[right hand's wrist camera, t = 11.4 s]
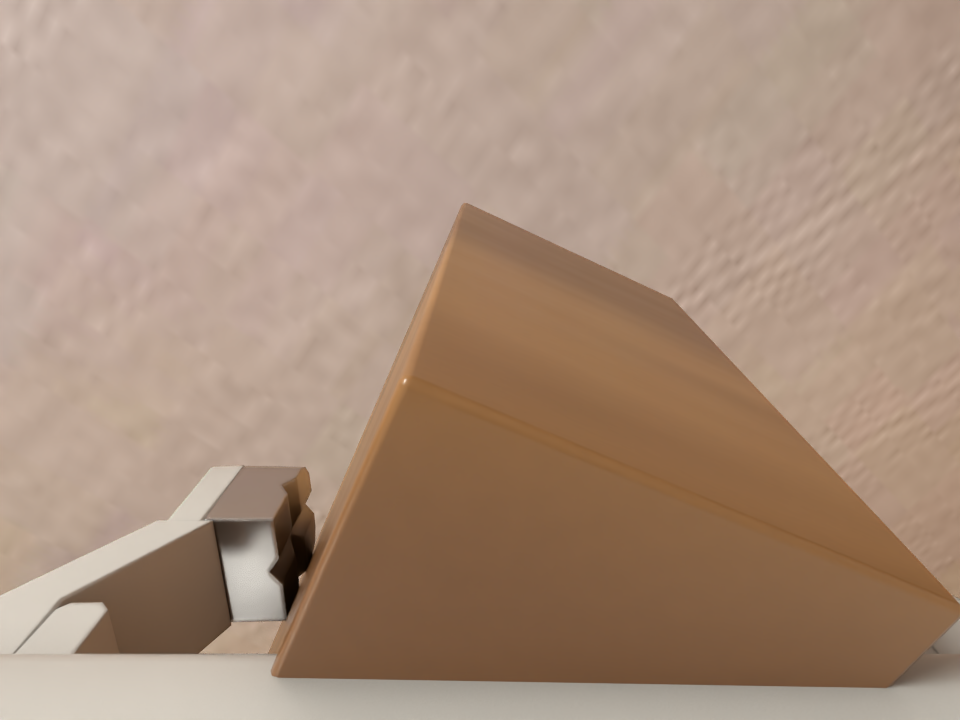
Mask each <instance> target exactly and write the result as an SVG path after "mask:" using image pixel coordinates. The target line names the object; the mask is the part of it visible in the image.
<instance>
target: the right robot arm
mask: <svg viewBox="0 0 960 720" xmlns="http://www.w3.org/2000/svg"><path fill="white" fill-rule="evenodd" d="M310 493H311V484H310V477H309V472H308V471H307V469H306V468H305V467H273V466H244V465H240V466H215V467H211V468H210V469H209V471H208V472H207V473H206V474H205V476H204V477H203V478H202V479H201V480H200V482H199V483H198V484H197V485H196V486H195V488H194V489H193V490H192V491H191V492H190V494H189V495H188V496H187V497H186V499H185V500H184V501H183V502H182V503H181V505H180V506H179V507H178V508H177V509H176V511H175V512H174V513H173V514H172V515H171V517H170V518H169V519H168V520H157V521H155V522H153V523H151V524H149V525H147V526H145V527H143V528H141V529H139V530H136V531H134V532H132V533H130V534H128V535H126V536H124V537H122V538H120V539H118V540H115V541H113V542H111V543H109V544H107V545H105V546H103V547H101V548H99V549H97V550H95V551H92V552H90V553H88V554H86V555H84V556H82V557H80V558H78V559H76V560H74V561H71V562H69V563H67V564H65V565H63V566H61V567H59V568H57V569H55V570H53V571H50V572H48V573H46V574H44V575H42V576H40V577H38V578H36V579H34V580H32V581H30V582H27V583H25V584H23V585H21V586H19V587H17V588H15V589H13V590H11V591H9V592H6V593H4V594H2V595H0V720H960V619H959V620H958V621H957V622H956V623H955V624H954V625H953V626H952V627H951V628H950V629H949V630H948V631H947V632H946V633H945V634H944V635H943V636H942V637H941V638H940V639H939V640H938V641H937V642H936V643H935V644H934V645H933V646H932V647H931V648H930V649H929V650H928V651H927V652H925V653H924V654H923V655H922V656H921V657H920V658H919V659H918V660H917V661H916V662H915V663H914V664H913V665H912V666H911V667H910V668H909V669H908V670H907V671H906V672H905V673H904V674H903V675H902V676H901V677H900V678H899V679H898V680H897V681H896V682H895V683H894V684H893V685H892V686H890V687H887V688H850V687H791V686H732V685H672V684H613V683H554V682H494V681H435V680H376V679H317V678H277V677H274V676H272V675H271V668H272V666H273V663H274V661H275V658H276V655H277V654H198V653H199V652H201V651H202V650H203V649H204V648H205V647H206V646H208V645H209V644H210V643H211V642H212V641H213V640H215V639H216V638H217V637H218V636H219V635H220V634H221V633H223V632H224V631H225V630H226V629H227V628H228V627H230V626H231V622H254V621H286V618H287V616H288V614H289V611H290V609H291V606H292V604H293V602H294V599H295V597H296V594H297V592H298V589H299V578H298V577H299V576H300V575H301V574H303V573H304V572H306V570H307V567H308V565H309V563H310V560H311V558H312V555H313V550H314V544H315V518H314V513H313V512H312V511H311V510H310V508H309V507H308V506H307V505H306V504H305V503H306V501H307V499H308V497H309V495H310ZM953 597H954V598H955V599H956V600H957V602H958V603H959V604H960V599H959V598H957V597H955V596H953Z"/></svg>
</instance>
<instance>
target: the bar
mask: <svg viewBox="0 0 960 720" xmlns="http://www.w3.org/2000/svg"><path fill="white" fill-rule="evenodd" d="M959 619H960V604H959V603H958V602H957V600H956V599H955V598H954V597H953V596H952V595H951V594H950V593H949V592H948V591H947V590H946V589H945V588H944V587H943V586H942V585H941V583H940V582H939V581H938V580H937V579H936V578H935V577H934V576H933V575H932V574H931V573H930V572H929V571H928V570H927V569H926V568H925V566H924V565H923V564H922V563H921V562H920V561H919V560H918V559H917V558H916V557H915V556H914V555H913V554H912V553H911V552H910V551H909V549H908V548H907V547H906V546H905V545H904V544H903V543H902V542H901V541H900V540H899V539H898V538H897V537H896V536H895V535H894V534H893V533H892V531H891V530H890V529H889V528H888V527H887V526H886V525H885V524H884V523H883V522H882V521H881V520H880V519H879V518H878V517H877V516H876V514H875V513H874V512H873V511H872V510H871V509H870V508H869V507H868V506H867V505H866V504H865V503H864V502H863V501H862V500H861V499H860V497H859V496H858V495H857V494H856V493H855V492H854V491H853V490H852V489H851V488H850V487H849V486H848V485H847V484H846V483H845V482H844V480H843V479H842V478H841V477H840V476H839V475H838V474H837V473H836V472H835V471H834V470H833V469H832V468H831V467H830V466H829V465H828V463H827V462H826V461H825V460H824V459H823V458H822V457H821V456H820V455H819V454H818V453H817V452H816V451H815V450H814V449H813V448H812V447H811V445H810V444H809V443H808V442H807V441H806V440H805V439H804V438H803V437H802V436H801V435H800V434H799V433H798V432H797V431H796V430H795V428H794V427H793V426H792V425H791V424H790V423H789V422H788V421H787V420H786V419H785V418H784V417H783V416H782V415H781V414H780V413H779V411H778V410H777V409H776V408H775V407H774V406H773V405H772V404H771V403H770V402H769V401H768V400H767V399H766V398H765V397H764V396H763V394H762V393H761V392H760V391H759V390H758V389H757V388H756V387H755V386H754V385H753V384H752V383H751V382H750V381H749V380H748V379H747V377H746V376H745V375H744V374H743V373H742V372H741V371H740V370H739V369H738V368H737V367H736V366H735V365H734V364H733V363H732V362H731V361H730V359H729V358H728V357H727V356H726V355H725V354H724V353H723V352H722V351H721V350H720V349H719V348H718V347H717V346H716V345H715V344H714V342H713V341H712V340H711V339H710V338H709V337H708V336H707V335H706V334H705V333H704V332H703V331H702V330H701V329H700V328H699V327H698V325H697V324H696V323H695V322H694V321H693V320H692V319H691V318H690V317H689V316H688V315H687V314H686V313H685V312H684V311H683V310H682V308H681V307H680V306H679V305H678V304H677V303H676V302H675V301H674V300H673V299H672V298H670V297H668V296H665V295H663V294H661V293H659V292H657V291H655V290H652V289H650V288H648V287H646V286H644V285H642V284H640V283H637V282H635V281H633V280H631V279H629V278H627V277H625V276H622V275H620V274H618V273H616V272H614V271H612V270H610V269H607V268H605V267H603V266H601V265H599V264H597V263H594V262H592V261H590V260H588V259H586V258H584V257H582V256H579V255H577V254H575V253H573V252H571V251H569V250H567V249H564V248H562V247H560V246H558V245H556V244H554V243H551V242H549V241H547V240H545V239H543V238H541V237H539V236H536V235H534V234H532V233H530V232H528V231H526V230H524V229H521V228H519V227H517V226H515V225H513V224H511V223H508V222H506V221H504V220H502V219H500V218H498V217H496V216H493V215H491V214H489V213H487V212H485V211H483V210H481V209H478V208H476V207H474V206H472V205H470V204H468V203H464V204H463V205H462V206H461V208H460V210H459V213H458V215H457V217H456V220H455V222H454V224H453V227H452V229H451V231H450V233H449V236H448V238H447V240H446V243H445V245H444V247H443V250H442V252H441V254H440V257H439V259H438V261H437V264H436V266H435V268H434V271H433V273H432V275H431V277H430V280H429V282H428V284H427V287H426V289H425V291H424V294H423V296H422V298H421V301H420V303H419V305H418V308H417V310H416V312H415V315H414V317H413V319H412V322H411V324H410V326H409V328H408V331H407V333H406V335H405V338H404V340H403V342H402V345H401V347H400V349H399V352H398V354H397V356H396V359H395V361H394V363H393V366H392V368H391V370H390V372H389V375H388V377H387V379H386V382H385V384H384V386H383V389H382V391H381V393H380V396H379V398H378V400H377V403H376V405H375V407H374V410H373V412H372V414H371V416H370V419H369V421H368V423H367V426H366V428H365V430H364V433H363V435H362V437H361V440H360V442H359V444H358V447H357V449H356V451H355V454H354V456H353V458H352V461H351V463H350V465H349V467H348V470H347V472H346V474H345V477H344V479H343V481H342V484H341V486H340V488H339V491H338V493H337V495H336V498H335V500H334V502H333V505H332V507H331V509H330V511H329V514H328V516H327V518H326V521H325V523H324V525H323V528H322V530H321V532H320V535H319V537H318V539H317V542H316V544H315V546H314V550H313V555H312V558H311V560H310V563H309V565H308V567H307V570H306V572H304V573H303V574H302V576H301V579H300V581H299V589H298V592H297V594H296V597H295V599H294V602H293V604H292V606H291V609H290V611H289V614H288V616H287V618H286V621H282V623H281V625H280V627H279V630H278V632H277V634H276V637H275V639H274V641H273V644H272V646H271V648H270V650H269V653H268V654H277V655H276V658H275V661H274V663H273V666H272V668H271V675H272V676H274V677H277V678H317V679H376V680H435V681H494V682H554V683H613V684H672V685H732V686H791V687H850V688H887V687H890V686H892V685H893V684H894V683H895V682H896V681H897V680H898V679H899V678H900V677H901V676H902V675H903V674H904V673H905V672H906V671H907V670H908V669H909V668H910V667H911V666H912V665H913V664H914V663H915V662H916V661H917V660H918V659H919V658H920V657H921V656H922V655H923V654H924V653H925V652H927V651H928V650H929V649H930V648H931V647H932V646H933V645H934V644H935V643H936V642H937V641H938V640H939V639H940V638H941V637H942V636H943V635H944V634H945V633H946V632H947V631H948V630H949V629H950V628H951V627H952V626H953V625H954V624H955V623H956V622H957V621H958V620H959Z"/></svg>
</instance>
